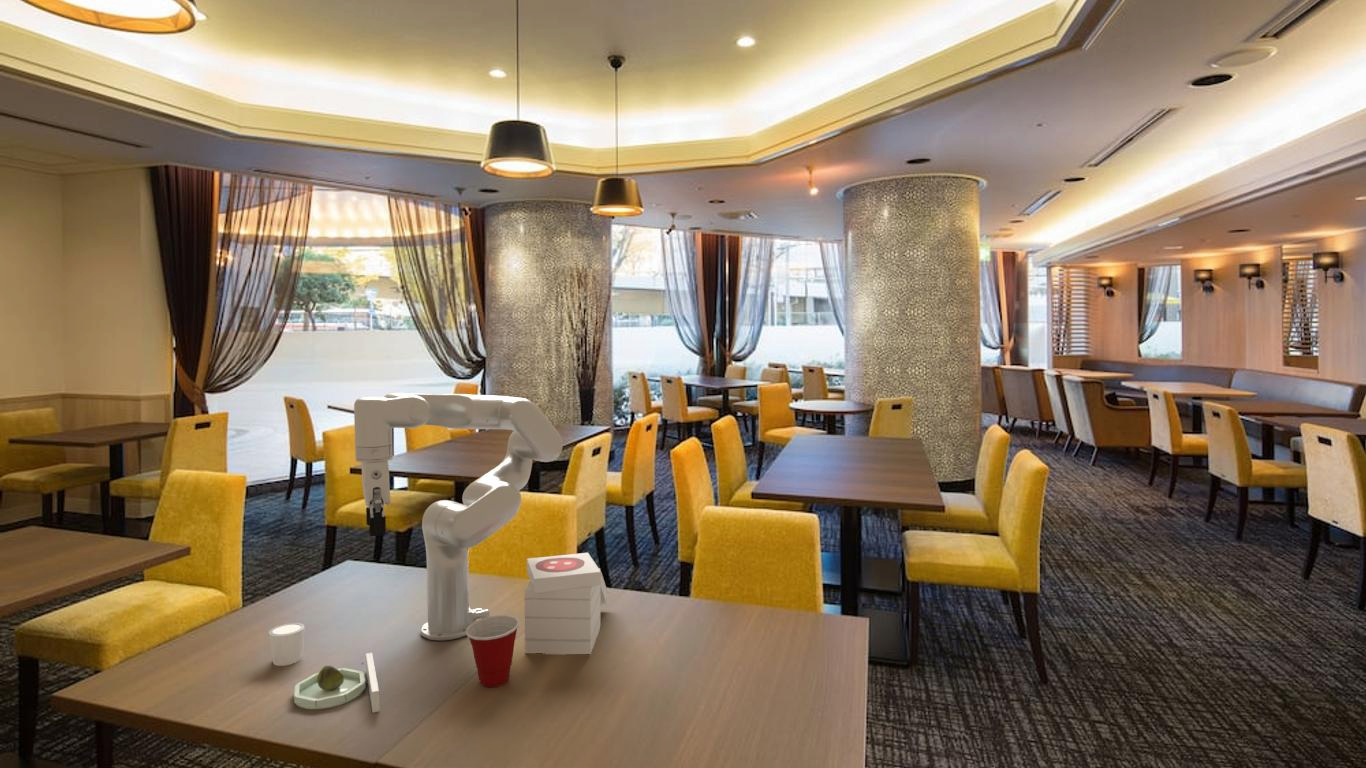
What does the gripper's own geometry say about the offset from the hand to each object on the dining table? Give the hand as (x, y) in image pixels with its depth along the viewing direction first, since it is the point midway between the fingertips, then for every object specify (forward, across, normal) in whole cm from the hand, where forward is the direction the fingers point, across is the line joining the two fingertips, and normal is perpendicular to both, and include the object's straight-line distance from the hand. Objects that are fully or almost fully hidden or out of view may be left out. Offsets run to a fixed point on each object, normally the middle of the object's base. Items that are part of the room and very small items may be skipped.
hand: (376, 529), depth 155 cm
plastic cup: (+28, -24, -20) cm, 42 cm away
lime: (+28, -14, +10) cm, 33 cm away
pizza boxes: (+29, -7, -42) cm, 51 cm away
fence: (+28, -17, +2) cm, 33 cm away
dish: (+28, -14, +10) cm, 33 cm away
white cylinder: (+28, +6, +18) cm, 34 cm away
